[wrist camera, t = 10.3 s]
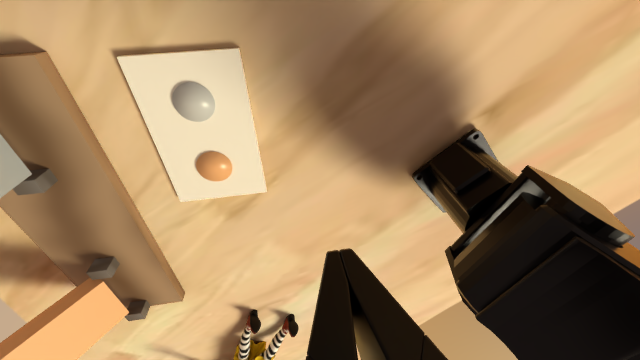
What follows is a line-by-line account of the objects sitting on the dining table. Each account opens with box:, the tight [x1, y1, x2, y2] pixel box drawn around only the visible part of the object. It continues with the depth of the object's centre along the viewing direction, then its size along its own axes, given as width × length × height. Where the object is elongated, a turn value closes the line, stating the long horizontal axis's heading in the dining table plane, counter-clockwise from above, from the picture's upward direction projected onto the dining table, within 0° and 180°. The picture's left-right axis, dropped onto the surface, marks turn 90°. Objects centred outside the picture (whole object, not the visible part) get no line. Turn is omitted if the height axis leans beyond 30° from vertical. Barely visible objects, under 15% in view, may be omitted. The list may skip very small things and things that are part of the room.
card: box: [117, 48, 267, 202], centre depth 19 cm, size 7×11×1 cm, turn 2°
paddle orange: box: [0, 278, 129, 360], centre depth 21 cm, size 2×5×11 cm
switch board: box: [0, 52, 185, 321], centre depth 21 cm, size 8×24×2 cm, turn 2°
